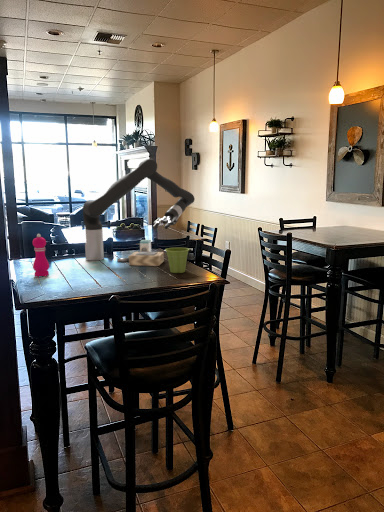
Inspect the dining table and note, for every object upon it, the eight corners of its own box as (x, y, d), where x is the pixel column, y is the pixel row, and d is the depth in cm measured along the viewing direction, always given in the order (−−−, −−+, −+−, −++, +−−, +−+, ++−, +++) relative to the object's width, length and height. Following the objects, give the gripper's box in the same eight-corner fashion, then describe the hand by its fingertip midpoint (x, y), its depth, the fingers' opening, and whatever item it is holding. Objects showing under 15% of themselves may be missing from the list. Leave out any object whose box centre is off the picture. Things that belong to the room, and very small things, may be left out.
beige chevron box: (129, 265, 219) (129, 255, 218) (135, 260, 231) (135, 250, 230) (159, 265, 217) (158, 255, 216) (163, 260, 229) (163, 251, 228)
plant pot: (192, 269, 206) (191, 247, 204) (186, 275, 195) (186, 251, 193) (169, 268, 209) (168, 246, 207) (162, 274, 198) (161, 250, 196)
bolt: (117, 262, 226) (117, 257, 225) (117, 261, 229) (117, 256, 228) (131, 261, 227) (131, 256, 227) (131, 260, 230) (131, 255, 230)
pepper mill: (45, 273, 201) (42, 232, 198) (52, 275, 196) (49, 233, 193) (31, 275, 196) (27, 233, 193) (37, 278, 191) (34, 235, 188)
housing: (140, 259, 235) (139, 241, 233) (142, 257, 241) (142, 239, 240) (148, 259, 234) (148, 241, 233) (151, 257, 241) (150, 239, 239)
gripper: (161, 208, 249) (147, 222, 238) (181, 207, 241) (167, 221, 230) (166, 219, 253) (152, 233, 242) (185, 218, 245) (171, 233, 234)
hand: (159, 227), depth 236 cm, fingers open, 8 cm apart
